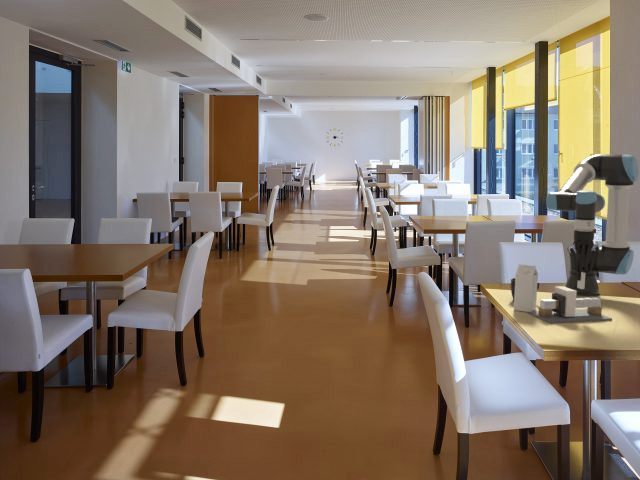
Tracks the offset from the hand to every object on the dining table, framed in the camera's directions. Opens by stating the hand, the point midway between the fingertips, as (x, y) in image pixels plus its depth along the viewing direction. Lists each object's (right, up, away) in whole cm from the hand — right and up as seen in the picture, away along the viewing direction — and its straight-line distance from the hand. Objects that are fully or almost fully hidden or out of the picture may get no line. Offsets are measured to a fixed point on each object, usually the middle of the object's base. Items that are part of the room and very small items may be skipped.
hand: (580, 288), depth 275 cm
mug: (-15, -8, +27) cm, 32 cm away
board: (-4, -11, 0) cm, 12 cm away
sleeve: (-7, -10, -1) cm, 12 cm away
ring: (-10, -10, -1) cm, 14 cm away
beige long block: (-4, -11, 0) cm, 12 cm away
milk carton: (-19, -10, +11) cm, 24 cm away
